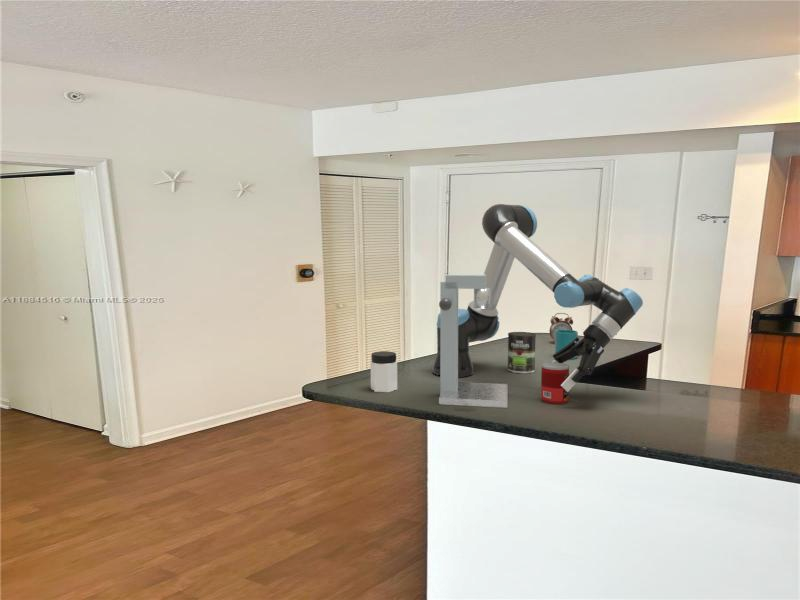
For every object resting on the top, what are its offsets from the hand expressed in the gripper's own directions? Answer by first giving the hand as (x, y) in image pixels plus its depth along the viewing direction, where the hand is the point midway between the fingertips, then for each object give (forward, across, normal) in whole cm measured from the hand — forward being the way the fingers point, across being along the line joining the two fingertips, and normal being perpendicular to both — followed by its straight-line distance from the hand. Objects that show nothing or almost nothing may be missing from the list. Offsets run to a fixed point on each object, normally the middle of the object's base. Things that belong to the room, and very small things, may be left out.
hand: (553, 383), depth 162 cm
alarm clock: (-30, +92, -38) cm, 103 cm away
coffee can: (-1, +41, -9) cm, 42 cm away
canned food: (+4, 0, -5) cm, 6 cm away
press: (+20, +8, +12) cm, 24 cm away
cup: (-21, +61, -30) cm, 71 cm away
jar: (+38, +24, +30) cm, 54 cm away
